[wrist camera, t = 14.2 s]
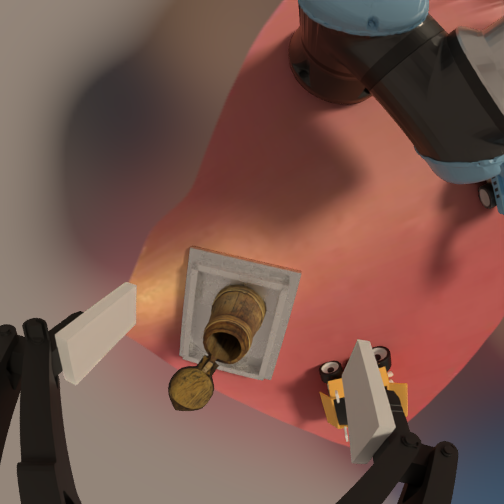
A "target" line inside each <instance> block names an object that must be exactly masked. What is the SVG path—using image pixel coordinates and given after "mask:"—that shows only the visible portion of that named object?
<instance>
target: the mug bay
mask: <svg viewBox="0 0 504 504" xmlns="http://www.w3.org/2000/svg"><path fill="white" fill-rule="evenodd" d="M300 277H301V271H300V270H295V269H291V268H287V267H282V266H278V265H273V264H269V263H265V262H260V261H256V260H252V259H247V258H243V257H239V256H234V255H230V254H226V253H222V252H217V251H213V250H209V249H204V248H200V247H196V246H192V247H190V253H189V261H188V269H187V278H186V287H185V296H184V306H183V317H182V328H181V340H180V353H179V356H182V357H183V359H184V360H188V361H191V362H194V363H199V362H200V361H201V359H202V357H203V356H204V355H206V356H208V354H207V352H206V351H205V349H204V345H203V334H204V329H205V327H206V325H207V323H208V322H209V319H210V316H211V309H212V304H213V302H214V299H215V297H216V296H217V294H218V293H219V291H221V290H222V289H223V288H224V287H227V286H230V285H242V286H246V287H248V288H251V289H252V290H254V291H255V292H256V293H258V294H259V296H260V297H261V298H262V300H263V301H264V303H265V307H266V314H265V317H264V320H263V322H262V325H261V327H260V329H259V330H258V331H257V332H256V334H255V336H254V337H253V342H252V345H251V347H250V349H249V351H248V352H247V354H246V355H245V356H244V357H243V358H241V359H240V360H239V361H238V362H236V363H234V364H224V363H221V362H218V361H215V362H216V363H217V364H218V365H219V367H218V368H217V369H219V370H222V371H226V372H230V373H234V374H238V375H242V376H246V377H250V378H254V379H258V380H263V379H269V380H271V378H272V375H273V371H274V368H275V365H276V362H277V358H278V355H279V352H280V348H281V345H282V342H283V338H284V335H285V331H286V328H287V324H288V321H289V317H290V314H291V310H292V307H293V303H294V299H295V296H296V292H297V288H298V285H299V281H300Z"/></svg>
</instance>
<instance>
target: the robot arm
mask: <svg viewBox="0 0 504 504" xmlns="http://www.w3.org/2000/svg"><path fill="white" fill-rule="evenodd" d="M298 4H299V17H300V27H299V28H298V29H297V30H296V31H295V33H294V35H293V36H292V39H291V41H290V45H289V61H290V66H291V69H292V72H293V74H294V76H295V78H296V79H297V80H298V82H299V83H300V84H301V85H302V86H303V87H304V88H305V89H306V90H307V91H308V92H310V93H311V94H313V95H314V96H316V97H318V98H320V99H322V100H325V101H328V102H331V103H336V104H354V103H358V102H361V101H364V100H366V99H368V98H370V97H371V96H374V97H375V99H376V100H377V101H378V102H379V103H380V104H381V105H382V106H383V108H384V109H385V110H386V111H387V112H388V113H389V115H390V116H391V117H392V118H393V119H394V121H395V122H396V123H397V124H398V125H399V127H400V128H401V129H402V130H403V132H404V133H405V134H406V136H407V137H408V138H409V139H410V141H411V142H412V143H413V145H414V148H415V151H416V152H417V153H418V155H420V156H421V157H422V158H423V159H424V160H425V161H426V162H427V164H428V165H429V166H430V168H431V169H432V170H433V172H434V173H435V174H436V175H437V176H439V177H440V178H441V179H443V180H444V181H447V182H450V183H454V184H471V183H477V182H481V181H485V180H487V179H490V178H492V177H495V176H497V175H498V174H500V172H501V169H504V16H503V17H501V18H500V19H498V20H497V21H495V22H494V23H493V24H491V25H490V26H488V27H487V28H486V29H484V30H480V31H479V30H475V29H472V28H468V27H464V26H459V27H457V28H456V29H455V30H453V31H452V32H451V33H450V34H448V33H447V32H446V31H445V30H444V29H443V28H442V27H441V26H440V25H439V24H438V23H437V22H436V21H435V20H434V18H433V17H432V16H431V15H430V14H429V13H428V11H429V0H298ZM136 287H137V285H134V284H131V283H128V282H125V283H124V284H122V285H121V286H120V287H118V288H117V289H115V290H114V291H113V292H111V293H110V294H109V295H107V296H106V297H104V298H103V299H102V300H100V301H99V302H97V303H96V304H95V305H93V306H92V307H91V308H89V309H88V310H87V311H85V312H81V311H79V312H76V313H74V314H71V315H70V316H69V317H67V318H66V319H65V320H63V321H62V322H61V323H59V324H58V325H56V326H55V327H54V328H52V329H51V330H50V331H48V328H47V323H46V322H45V321H44V320H43V319H40V318H32V319H29V320H27V321H25V322H24V323H23V325H22V326H23V331H24V335H25V337H23V336H20V335H17V332H16V328H15V327H14V326H12V325H7V324H6V325H1V326H0V462H1V458H2V453H3V449H4V445H5V441H6V437H7V433H8V429H9V426H10V422H11V419H12V415H13V412H14V409H15V406H16V403H17V400H18V397H19V393H20V391H21V394H20V395H21V396H20V445H21V462H20V463H18V464H17V477H18V486H19V493H20V499H21V504H81V501H80V499H79V497H78V494H77V492H76V488H75V484H74V480H73V475H72V471H71V467H70V461H69V456H68V451H67V445H66V439H65V432H64V425H63V417H62V407H61V397H60V383H59V376H58V374H59V373H61V372H62V371H63V375H64V378H65V380H67V381H69V382H70V383H72V384H74V385H77V384H78V383H79V382H80V381H81V380H82V379H83V378H84V377H85V376H86V375H87V374H88V373H89V372H90V370H91V369H92V368H93V367H94V366H95V365H96V364H97V363H98V362H99V361H100V360H101V359H102V358H103V357H104V356H105V355H106V354H107V353H108V352H109V351H110V350H111V349H112V348H113V347H114V346H115V345H116V344H117V343H118V342H119V341H120V339H122V338H123V337H124V336H125V335H126V333H127V332H128V331H129V330H130V329H131V328H132V327H133V326H134V325H135V324H136ZM342 382H343V389H344V397H345V405H346V413H347V421H348V430H349V440H350V449H351V461H352V463H357V464H367V463H368V462H369V460H371V458H372V457H373V461H374V464H373V466H371V467H370V469H369V470H368V471H367V472H366V473H365V474H364V475H363V477H361V479H360V480H359V481H358V482H357V483H356V484H355V485H354V486H353V487H352V488H351V489H350V490H349V491H348V492H347V493H346V494H345V495H344V496H343V497H342V498H341V499H340V500H339V501H338V502H337V503H336V504H382V503H383V502H384V500H385V499H386V498H387V496H388V495H389V494H390V492H391V491H392V490H393V488H394V487H395V486H396V484H397V483H398V482H403V483H405V484H404V487H403V490H402V492H401V495H400V498H399V500H398V503H397V504H451V500H452V495H453V489H454V483H455V477H456V470H457V462H458V450H457V448H456V447H455V446H454V445H453V444H452V443H450V442H446V441H443V442H440V443H438V444H437V445H436V447H431V446H427V445H424V444H421V440H420V439H419V437H418V436H417V435H416V434H414V433H412V432H410V430H409V427H408V423H407V420H406V417H405V414H404V412H403V408H402V406H401V401H400V398H399V397H398V396H397V394H396V393H395V392H394V391H392V390H385V387H384V384H383V381H382V378H381V374H380V371H379V368H378V365H377V362H376V359H375V356H374V353H373V350H372V347H371V344H370V341H365V340H359V339H357V342H356V344H355V347H354V349H353V351H352V354H351V356H350V358H349V361H348V363H347V365H346V367H345V370H344V372H343V374H342Z"/></svg>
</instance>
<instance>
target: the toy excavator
mask: <svg viewBox="0 0 504 504" xmlns="http://www.w3.org/2000/svg"><path fill="white" fill-rule="evenodd" d="M486 181H487V184H484V185H482V186H480V187H479V190H478V192H480V196H479V198H480V201H481V203H482V205H483V206H484V207H485V208H489V209H491V208H493V207H495V206H497V209H498V212H499V213H500V214H503V215H504V169H501V172H500V174H498V175H497V176H495V177H492V178H490V179H487V180H486Z"/></svg>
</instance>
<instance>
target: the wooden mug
mask: <svg viewBox="0 0 504 504" xmlns="http://www.w3.org/2000/svg"><path fill="white" fill-rule="evenodd" d="M265 314H266V307H265V303H264V301H263V300H262V298H261V297H260V296H259V294H258V293H256V292H255V291H254V290H252V289H251V288H248V287H246V286H242V285H230V286H227V287H224V288H223V289H222V290H221V291H219V293H218V294H217V296H216V297H215V299H214V302H213V304H212V309H211V316H210V319H209V322H208V323H207V325H206V327H205V329H204V334H203V345H204V349H205V351H206V352H207V354H208V356H206V355H204V356H203V357H202V359H201V361H200V362H199V363H198V365H197V366H188V367H183V368H181V369H179V370H178V371H177V372H176V373H175V374H174V375H173V377H172V378H171V380H170V383H169V387H168V392H169V397H170V400H171V402H172V404H173V407H174V408H175V410H179V411H194V410H199V409H201V408H203V407H204V406H205V405H206V404H207V403H208V401H209V400H210V398H211V396H212V395H213V391H214V384H213V379H212V375H213V373H214V372H215V370H216V369H217V368H218V367H219V365H218V364H217V363H216V362H215V361H218V362H221V363H224V364H234V363H236V362H238V361H239V360H240V359H241V358H243V357H244V356H245V355H246V354H247V352H248V351H249V349H250V347H251V345H252V342H253V337H254V336H255V334H256V332H257V331H258V330H259V329H260V327H261V325H262V322H263V320H264V317H265Z"/></svg>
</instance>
